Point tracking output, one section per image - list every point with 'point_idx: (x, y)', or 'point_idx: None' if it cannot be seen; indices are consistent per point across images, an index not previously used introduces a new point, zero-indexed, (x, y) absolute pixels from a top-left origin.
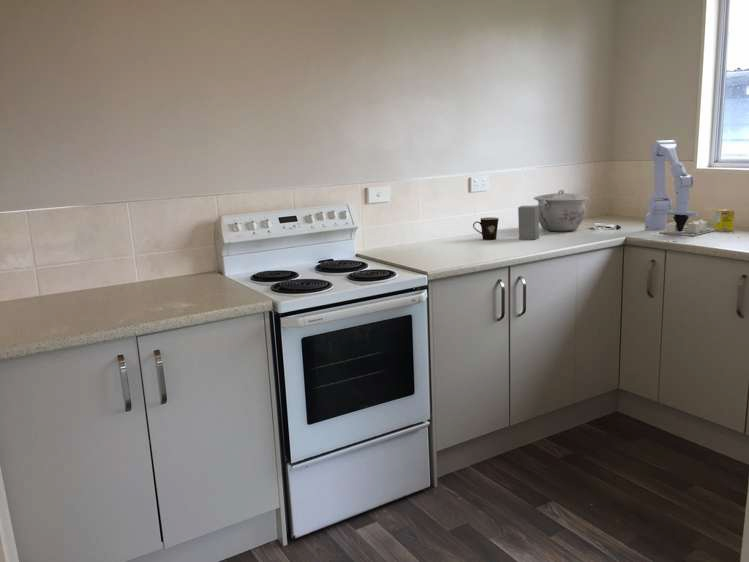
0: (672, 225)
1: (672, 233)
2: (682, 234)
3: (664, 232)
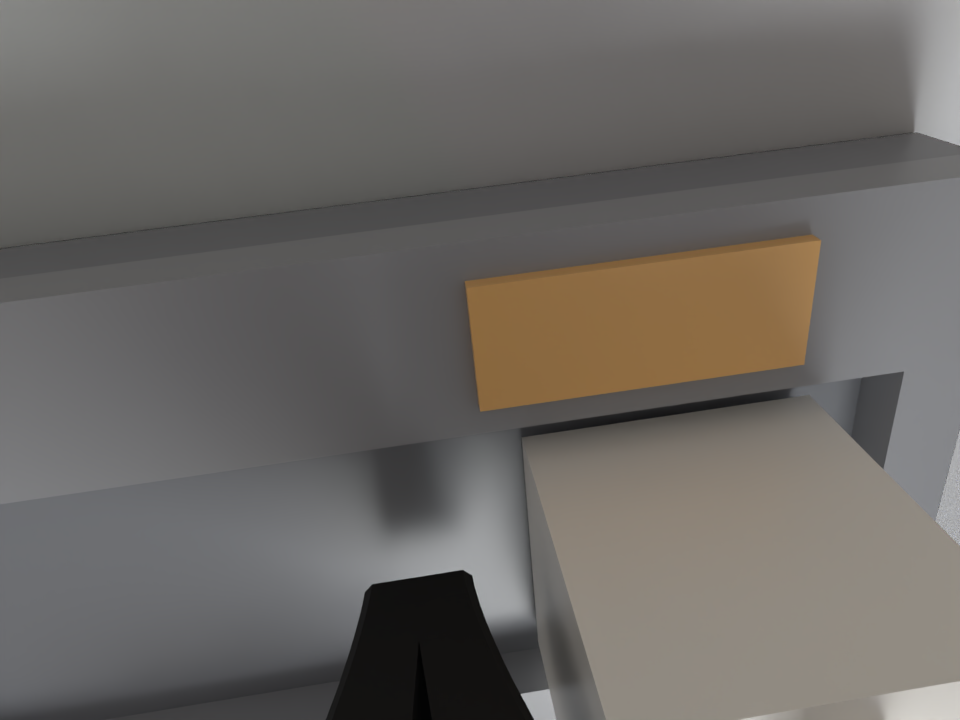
0: (729, 665)
1: (491, 280)
2: (69, 343)
3: (854, 323)
